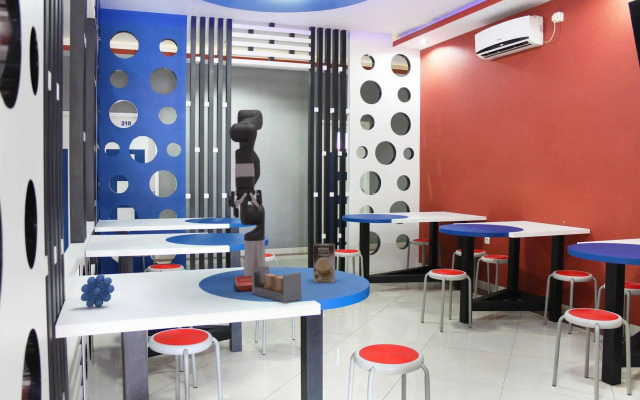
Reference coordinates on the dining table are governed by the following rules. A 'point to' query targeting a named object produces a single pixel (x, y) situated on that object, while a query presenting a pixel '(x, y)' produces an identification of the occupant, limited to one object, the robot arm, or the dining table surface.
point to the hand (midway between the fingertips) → (246, 217)
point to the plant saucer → (244, 283)
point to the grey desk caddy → (288, 295)
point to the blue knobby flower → (97, 290)
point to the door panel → (273, 282)
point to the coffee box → (324, 263)
